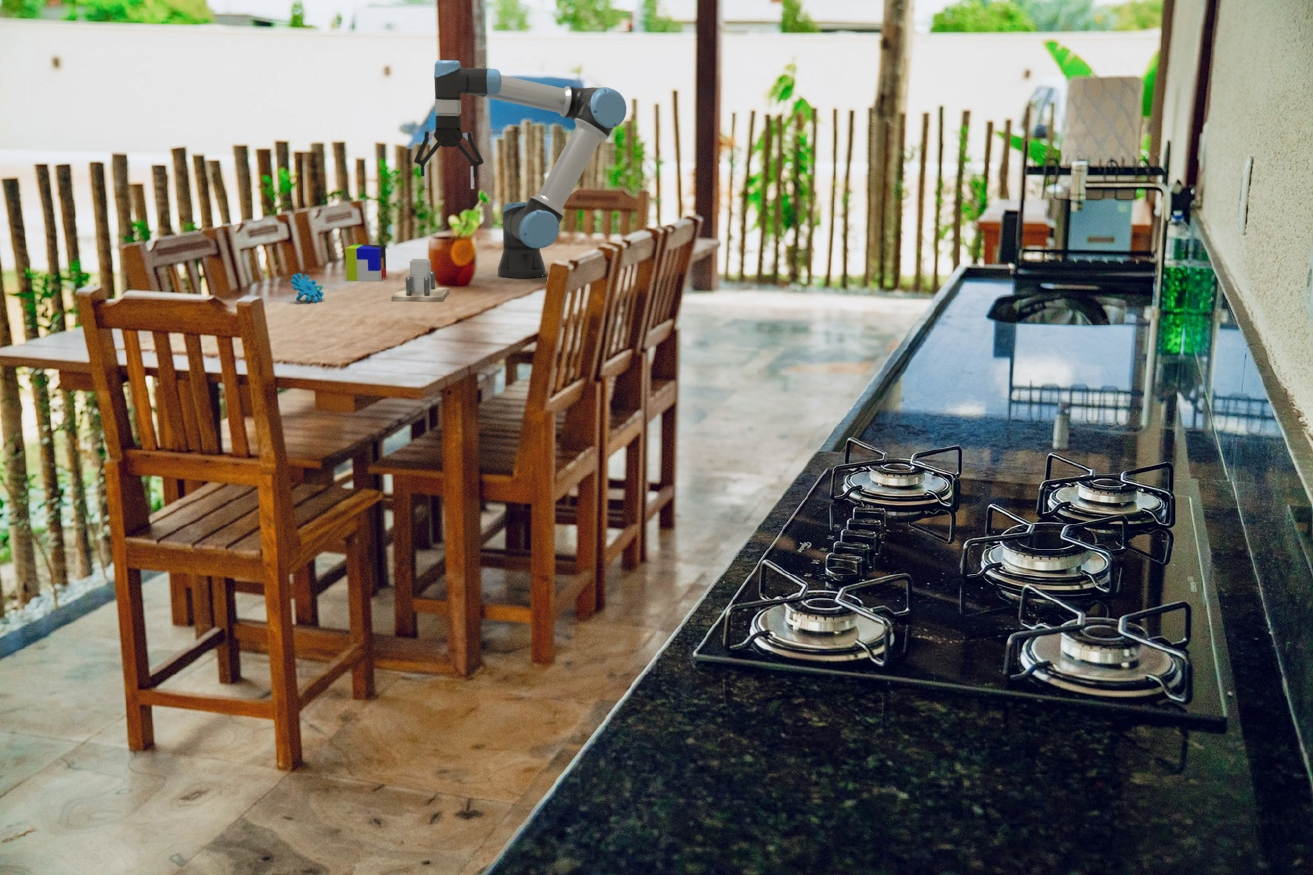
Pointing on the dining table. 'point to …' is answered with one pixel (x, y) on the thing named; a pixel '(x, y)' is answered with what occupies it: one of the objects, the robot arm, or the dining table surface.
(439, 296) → the peg fixture base
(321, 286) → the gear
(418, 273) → the jaw block
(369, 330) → the dining table surface
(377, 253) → the puzzle toy
